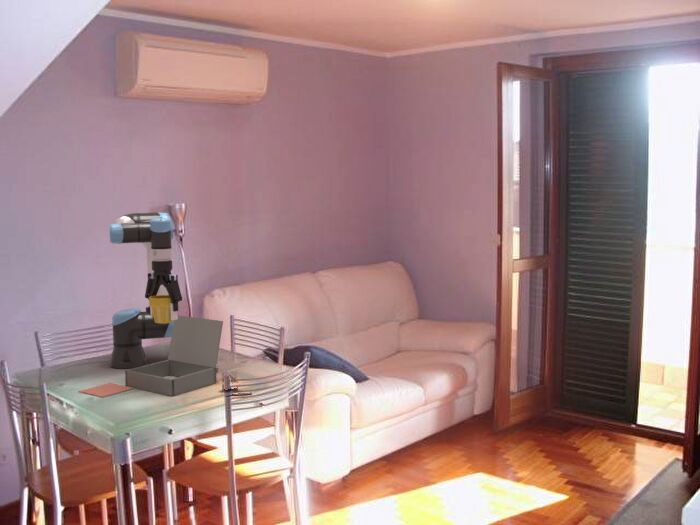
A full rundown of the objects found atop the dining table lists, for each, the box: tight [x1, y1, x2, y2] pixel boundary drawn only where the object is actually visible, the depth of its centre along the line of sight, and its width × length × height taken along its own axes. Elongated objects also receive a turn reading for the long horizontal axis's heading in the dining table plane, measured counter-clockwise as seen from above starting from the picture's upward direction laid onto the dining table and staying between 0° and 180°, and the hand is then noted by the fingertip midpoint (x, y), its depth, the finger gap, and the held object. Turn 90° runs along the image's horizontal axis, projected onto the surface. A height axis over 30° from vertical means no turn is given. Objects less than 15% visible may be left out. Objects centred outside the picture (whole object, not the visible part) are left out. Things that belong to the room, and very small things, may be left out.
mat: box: [78, 382, 135, 399], centre depth 291 cm, size 14×14×1 cm
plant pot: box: [148, 295, 173, 324], centre depth 294 cm, size 10×10×10 cm
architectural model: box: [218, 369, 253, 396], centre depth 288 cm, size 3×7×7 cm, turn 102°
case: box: [124, 315, 224, 397], centre depth 298 cm, size 26×27×24 cm
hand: (164, 318), depth 295 cm, fingers closed on plant pot, 10 cm apart
